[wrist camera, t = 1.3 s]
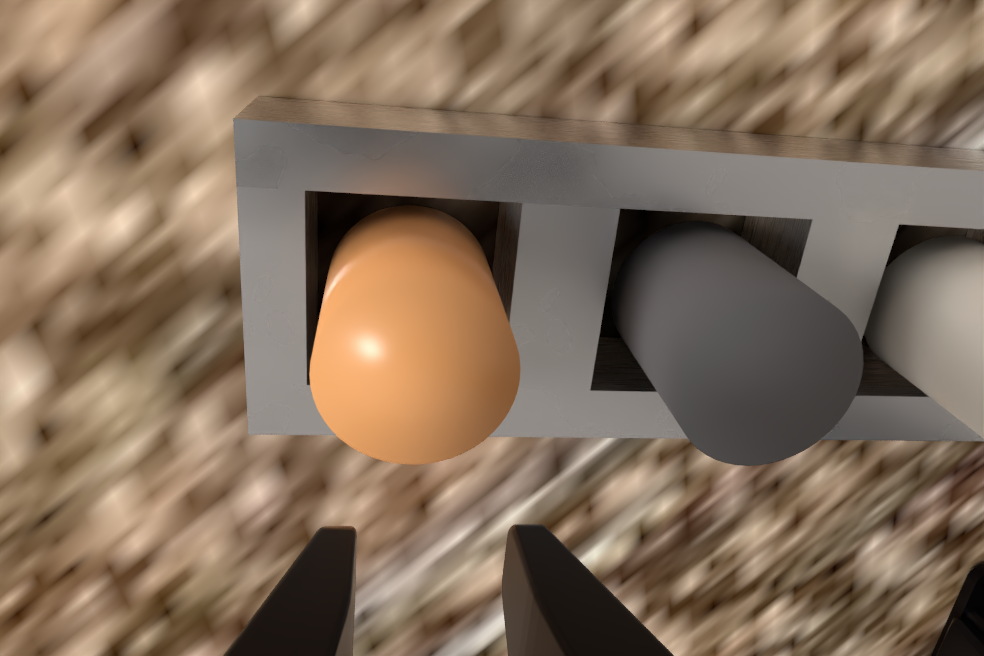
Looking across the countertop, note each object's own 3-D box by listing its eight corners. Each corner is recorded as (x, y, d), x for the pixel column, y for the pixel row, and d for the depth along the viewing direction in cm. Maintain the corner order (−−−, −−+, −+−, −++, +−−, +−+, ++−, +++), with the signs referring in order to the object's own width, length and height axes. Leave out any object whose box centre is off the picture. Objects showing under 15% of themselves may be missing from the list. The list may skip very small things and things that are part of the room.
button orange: (497, 210, 16) (531, 283, 12) (482, 357, 18) (509, 464, 14) (328, 200, 16) (308, 274, 12) (327, 353, 17) (310, 464, 13)
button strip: (1040, 154, 20) (1142, 182, 17) (950, 386, 23) (1026, 441, 20) (258, 96, 17) (233, 118, 14) (267, 372, 20) (248, 434, 17)
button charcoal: (774, 225, 17) (887, 297, 13) (739, 363, 19) (832, 465, 15) (624, 216, 17) (697, 290, 13) (600, 360, 18) (659, 465, 14)
